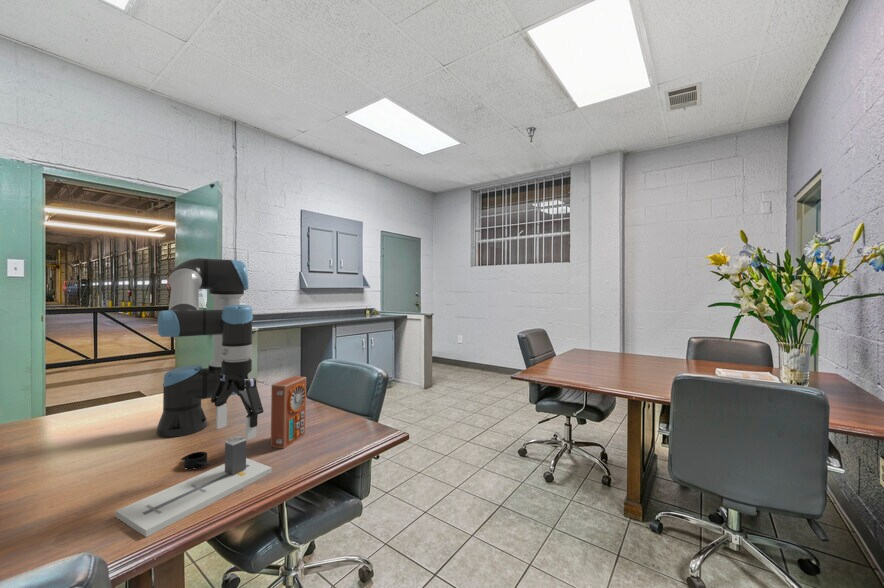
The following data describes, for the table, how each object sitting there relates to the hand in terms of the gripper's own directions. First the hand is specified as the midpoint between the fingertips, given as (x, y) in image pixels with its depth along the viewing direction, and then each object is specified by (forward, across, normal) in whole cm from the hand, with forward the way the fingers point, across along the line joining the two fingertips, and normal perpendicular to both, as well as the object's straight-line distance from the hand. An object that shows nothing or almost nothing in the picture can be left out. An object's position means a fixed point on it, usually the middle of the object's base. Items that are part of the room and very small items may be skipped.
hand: (235, 432), depth 102 cm
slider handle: (+11, 0, 0) cm, 11 cm away
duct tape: (+13, -16, -2) cm, 21 cm away
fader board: (+12, 0, -9) cm, 16 cm away
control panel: (+13, -6, +24) cm, 28 cm away
